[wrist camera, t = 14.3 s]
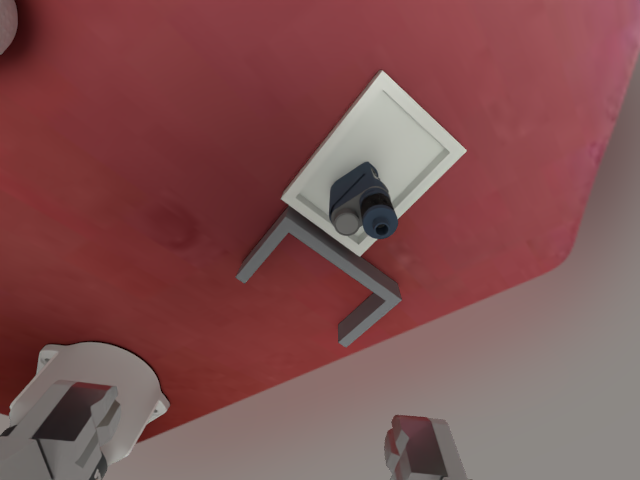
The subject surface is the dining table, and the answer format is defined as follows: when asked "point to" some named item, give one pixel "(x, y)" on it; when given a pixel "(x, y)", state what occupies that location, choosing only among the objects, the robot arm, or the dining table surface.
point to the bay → (340, 256)
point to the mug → (7, 23)
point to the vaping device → (362, 204)
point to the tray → (375, 156)
